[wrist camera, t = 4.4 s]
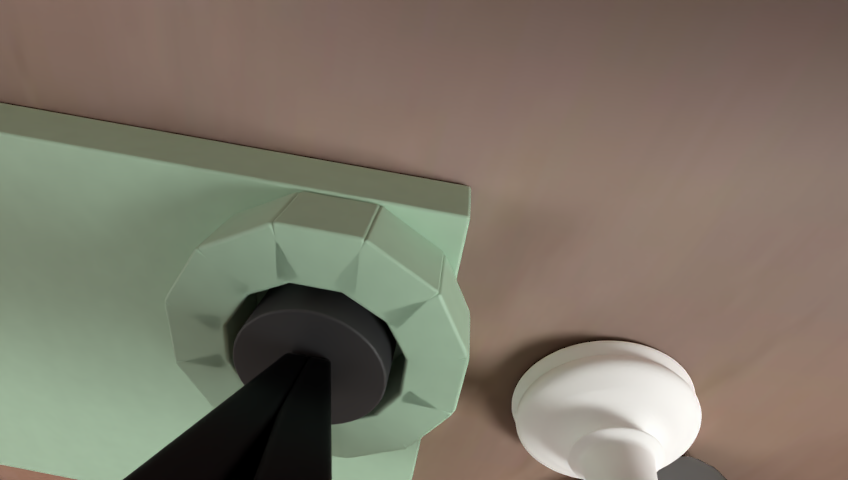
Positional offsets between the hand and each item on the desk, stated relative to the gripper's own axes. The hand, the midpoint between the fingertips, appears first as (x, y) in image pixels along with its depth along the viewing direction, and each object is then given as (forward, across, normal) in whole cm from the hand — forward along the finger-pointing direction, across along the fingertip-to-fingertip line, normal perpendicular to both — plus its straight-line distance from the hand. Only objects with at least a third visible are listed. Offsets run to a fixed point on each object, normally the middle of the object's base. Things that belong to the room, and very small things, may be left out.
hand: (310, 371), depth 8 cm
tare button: (+2, 0, 0) cm, 2 cm away
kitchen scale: (+3, +4, +3) cm, 6 cm away
